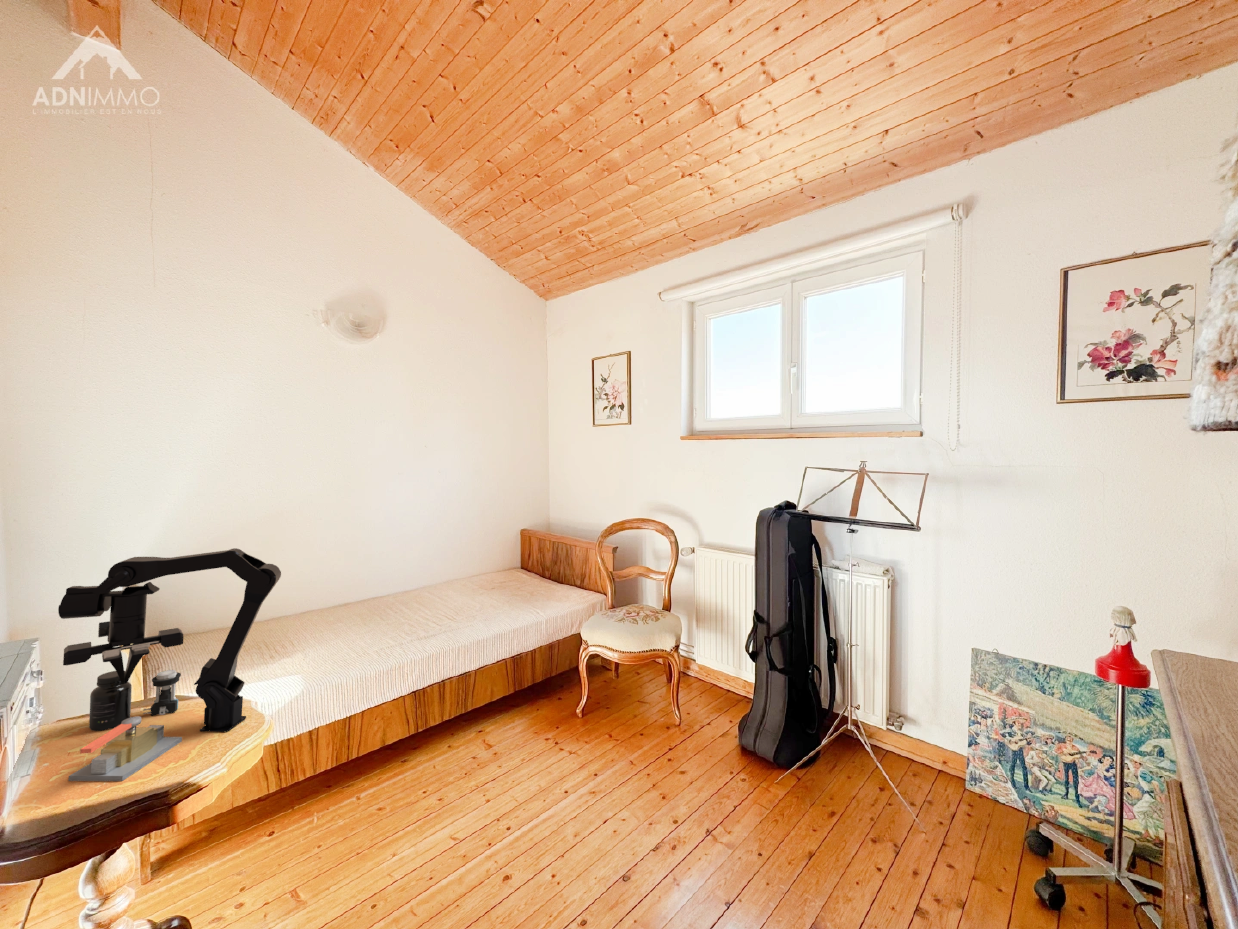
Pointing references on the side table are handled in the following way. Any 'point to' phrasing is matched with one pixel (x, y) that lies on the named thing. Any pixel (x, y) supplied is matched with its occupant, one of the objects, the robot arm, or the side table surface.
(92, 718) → the supplement bottle
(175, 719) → the side table surface
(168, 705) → the push button
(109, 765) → the valve
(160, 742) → the board
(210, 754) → the side table surface
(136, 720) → the lever
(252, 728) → the side table surface
